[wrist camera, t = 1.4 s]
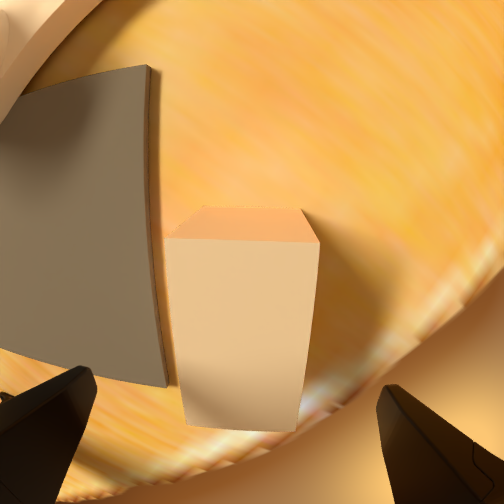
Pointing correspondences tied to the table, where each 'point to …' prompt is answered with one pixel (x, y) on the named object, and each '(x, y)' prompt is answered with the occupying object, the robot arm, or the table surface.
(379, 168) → the table surface
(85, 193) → the grey rubber mat
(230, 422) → the card deck box
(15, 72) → the bracket
